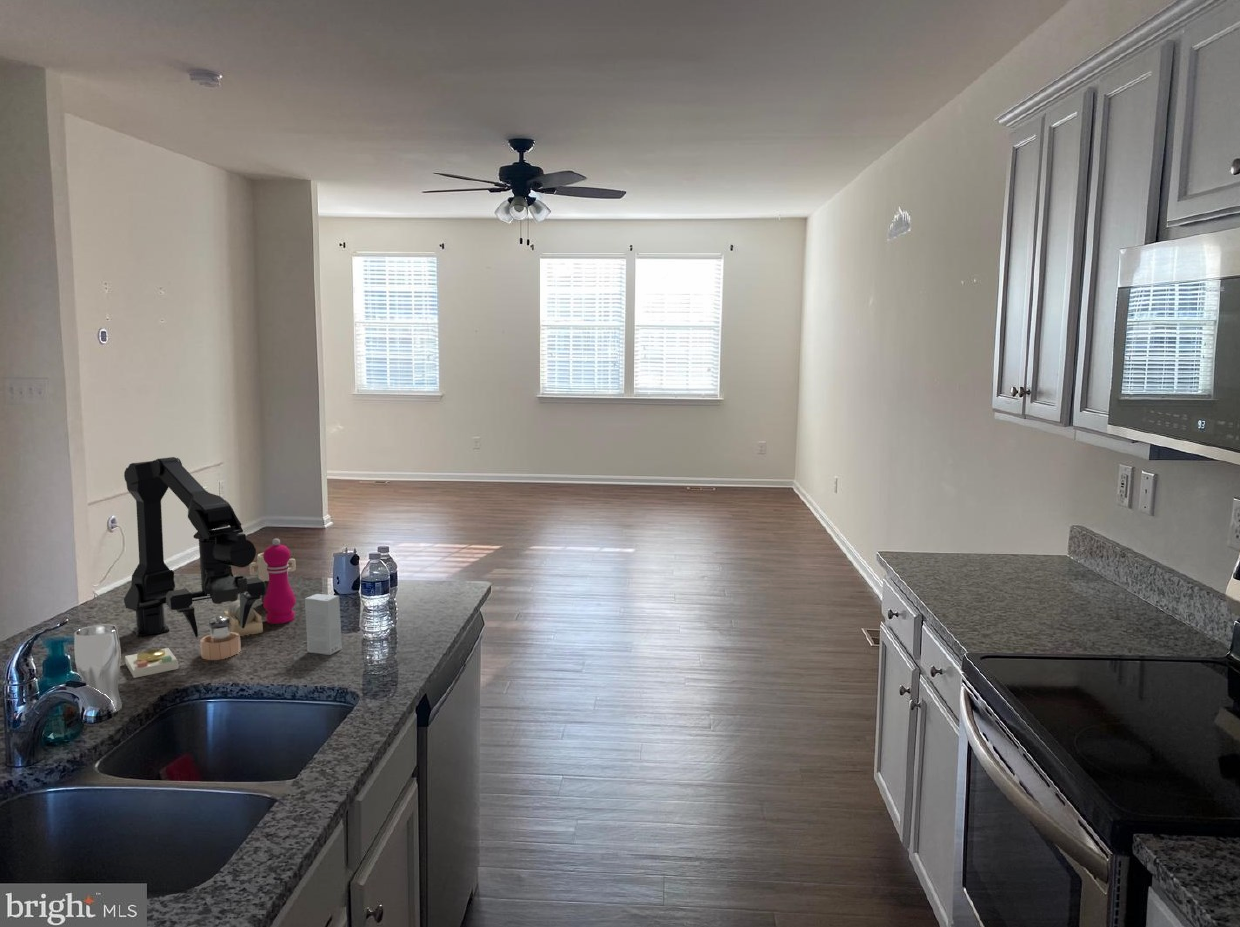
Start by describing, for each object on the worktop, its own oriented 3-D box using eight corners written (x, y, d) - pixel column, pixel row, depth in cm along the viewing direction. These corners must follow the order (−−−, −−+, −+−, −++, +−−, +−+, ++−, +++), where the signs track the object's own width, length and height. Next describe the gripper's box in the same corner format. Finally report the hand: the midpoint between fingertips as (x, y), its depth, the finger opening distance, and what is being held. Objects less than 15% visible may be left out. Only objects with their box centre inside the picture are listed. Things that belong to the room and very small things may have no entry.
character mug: (296, 597, 223) (293, 548, 221) (298, 604, 217) (296, 554, 215) (251, 602, 218) (248, 553, 216) (252, 609, 212) (249, 559, 210)
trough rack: (224, 626, 199) (222, 600, 198) (250, 621, 202) (249, 596, 202) (235, 637, 191) (233, 610, 190) (262, 632, 195) (261, 606, 194)
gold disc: (135, 656, 174) (135, 652, 174) (162, 651, 177) (162, 647, 177) (139, 663, 170) (139, 659, 170) (167, 658, 173) (167, 654, 173)
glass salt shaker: (209, 650, 181) (206, 616, 180) (228, 646, 183) (226, 613, 183) (213, 655, 178) (211, 620, 177) (233, 651, 180) (231, 617, 179)
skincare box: (342, 649, 184) (340, 595, 182) (329, 655, 180) (327, 600, 178) (319, 646, 186) (316, 593, 184) (306, 652, 182) (303, 598, 180)
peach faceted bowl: (198, 652, 182) (197, 636, 181) (235, 645, 186) (234, 629, 186) (206, 662, 176) (205, 646, 175) (244, 654, 180) (243, 638, 180)
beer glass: (92, 721, 147) (85, 638, 145) (72, 713, 151) (64, 631, 149) (132, 707, 153) (126, 627, 151) (112, 699, 157) (106, 621, 155)
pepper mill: (285, 625, 200) (280, 542, 197) (257, 623, 201) (253, 541, 198) (302, 616, 207) (298, 536, 204) (276, 614, 208) (271, 534, 205)
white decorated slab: (125, 663, 175) (124, 652, 175) (168, 655, 180) (167, 644, 180) (133, 677, 167) (132, 666, 167) (178, 668, 172) (177, 657, 172)
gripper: (174, 575, 166) (179, 652, 168) (272, 561, 178) (276, 633, 180) (162, 564, 175) (168, 637, 177) (257, 551, 186) (261, 620, 188)
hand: (219, 632), depth 180 cm, fingers open, 9 cm apart
